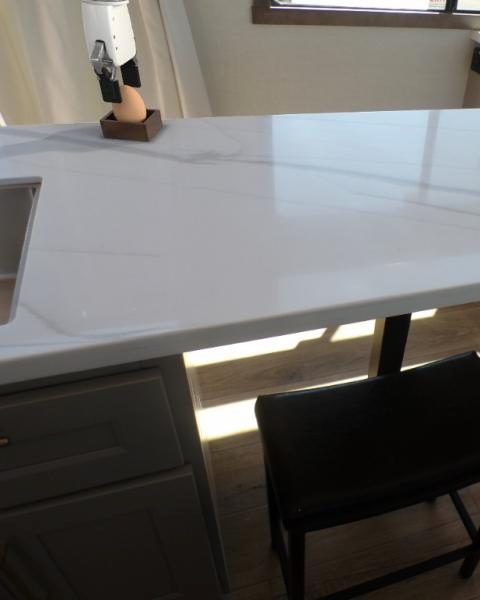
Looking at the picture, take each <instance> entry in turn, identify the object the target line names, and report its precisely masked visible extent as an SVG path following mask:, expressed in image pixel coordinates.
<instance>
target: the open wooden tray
mask: <svg viewBox="0 0 480 600" xmlns="http://www.w3.org/2000/svg"><path fill="white" fill-rule="evenodd" d="M99 124H100V129H101V133H102V137H103V138H104V139H112V140H113V139H114V140H124V141H135V142H136V141H137V142H147V143H148V142H150V141H151V140H152V139H153V138H154V137H155V136H156V135H157V133H159V132H160V130H161V129H162V128H163V127H164V125H163V120H162V114H161V109H155V108H146V119H145V121H144V123H137V122H125V121H118V120H117V119H116V117H115V115H114V112H113V109H110V111H109V112H108V113H107V114H105V115H104V116H102V118H100V119H99Z"/></svg>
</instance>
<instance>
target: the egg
mask: <svg viewBox="0 0 480 600" xmlns="http://www.w3.org/2000/svg"><path fill="white" fill-rule="evenodd" d="M119 86H120V91H121V96H122V103H120V104H119V103H111V107H112V110H113V112H114V115H115V117H116V119H117V120H118V121H125V122H137V123H144V121H145V119H146V109H147V107H146V104H145V102H144V100H143V98H142V97H141V95H140V93H139V92H138V91H137V90H136V89H135V88H134V87H130V86H127V85H119Z"/></svg>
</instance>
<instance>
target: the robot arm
mask: <svg viewBox="0 0 480 600" xmlns="http://www.w3.org/2000/svg"><path fill="white" fill-rule="evenodd" d="M80 1H81V18H82V19H81V20H82V26H83V32H84V38H85V44H86V49H87V54H88V59H89V62H90V63H91V65H92V68H93V72H94V73H95V75H96V79H97V80H98V83H99V88H100V92H101V96H102V97H101V98H102V100H103V102H104V103H108V104H109V103H110V104H112V103H119V104H120V103H122V96H121V91H120V86H121V85H120V82H119V79H117V69H118V68H120V73H121V79H122V84H123V85H127V86H130V87H132V88H134V89H140V88H142V81H141V75H140V70H139V60H138V58H137V54H138V52H137V48H136V37H135V34H134V29H133V25H132V20H131V16H130V13H129V9H128V8H129V7H128V4H129V3H130V0H80ZM108 68H110V69H108Z"/></svg>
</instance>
